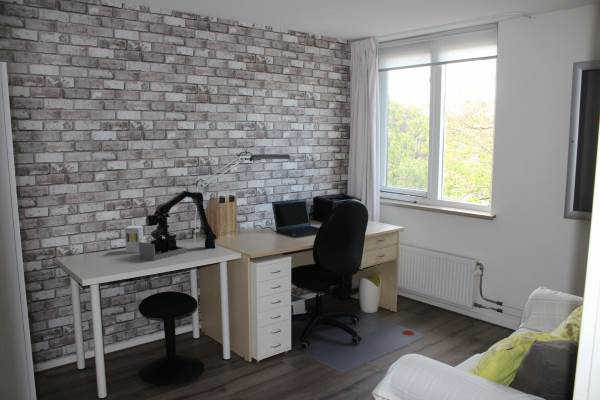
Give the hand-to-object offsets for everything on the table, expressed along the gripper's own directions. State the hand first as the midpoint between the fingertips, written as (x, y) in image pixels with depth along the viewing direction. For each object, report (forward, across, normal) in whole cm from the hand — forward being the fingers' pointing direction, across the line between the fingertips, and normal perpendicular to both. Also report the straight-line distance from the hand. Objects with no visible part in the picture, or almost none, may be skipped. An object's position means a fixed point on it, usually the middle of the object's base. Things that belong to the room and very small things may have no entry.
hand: (164, 248), depth 320 cm
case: (+4, 0, 0) cm, 4 cm away
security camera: (+4, 0, +1) cm, 4 cm away
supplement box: (+5, -26, -4) cm, 26 cm away
